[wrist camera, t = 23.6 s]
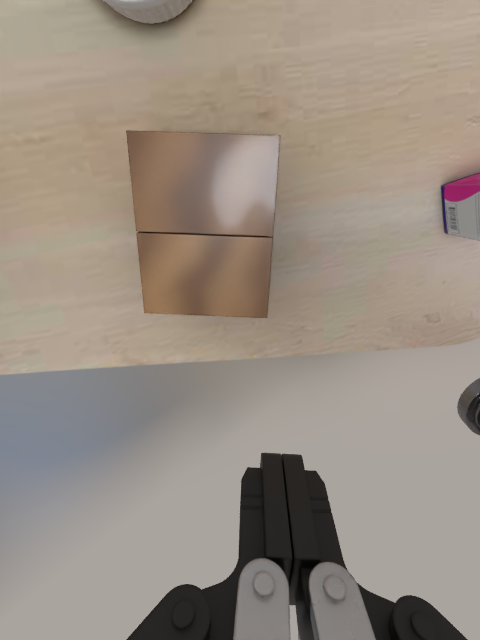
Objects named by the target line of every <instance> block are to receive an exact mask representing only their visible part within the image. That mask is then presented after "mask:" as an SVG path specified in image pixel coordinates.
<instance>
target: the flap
mask: <svg viewBox="0 0 480 640" xmlns="http://www.w3.org/2000/svg"><path fill="white" fill-rule="evenodd" d="M137 242H138V252H139V262H140V272H141V283H142V293H143V303H144V313H158V314H182V315H207V316H231V317H255V318H267V313H268V299H269V285H270V271H271V257H272V243H273V238H272V237H247V236H220V235H193V234H167V233H140V232H138V233H137Z"/></svg>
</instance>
